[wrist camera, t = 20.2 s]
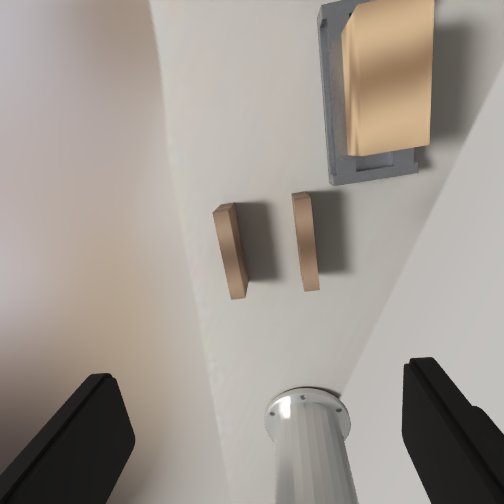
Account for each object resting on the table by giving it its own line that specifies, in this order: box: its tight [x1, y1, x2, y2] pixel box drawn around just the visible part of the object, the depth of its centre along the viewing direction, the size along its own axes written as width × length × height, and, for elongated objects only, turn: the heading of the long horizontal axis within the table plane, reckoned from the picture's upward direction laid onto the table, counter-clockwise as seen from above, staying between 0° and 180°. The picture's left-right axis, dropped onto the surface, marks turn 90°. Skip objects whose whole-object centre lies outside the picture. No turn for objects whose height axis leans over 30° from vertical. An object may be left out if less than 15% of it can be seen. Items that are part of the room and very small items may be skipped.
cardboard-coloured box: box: [341, 0, 434, 156], centre depth 23 cm, size 10×5×5 cm, turn 10°
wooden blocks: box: [213, 192, 320, 300], centre depth 31 cm, size 10×10×4 cm
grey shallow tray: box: [317, 0, 418, 186], centre depth 26 cm, size 15×8×3 cm, turn 10°
